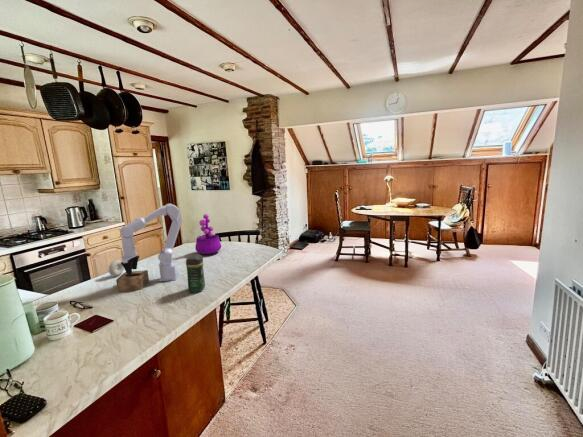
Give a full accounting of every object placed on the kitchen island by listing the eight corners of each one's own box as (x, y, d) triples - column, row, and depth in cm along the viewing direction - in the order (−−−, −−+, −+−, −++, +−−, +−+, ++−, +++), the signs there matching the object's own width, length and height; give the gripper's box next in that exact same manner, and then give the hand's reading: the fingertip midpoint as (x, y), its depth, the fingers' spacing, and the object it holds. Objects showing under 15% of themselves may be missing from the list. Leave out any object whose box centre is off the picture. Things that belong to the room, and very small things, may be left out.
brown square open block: (148, 280, 168) (147, 270, 167) (141, 289, 156) (140, 277, 155) (126, 282, 166) (125, 271, 165) (117, 291, 154) (116, 279, 153)
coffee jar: (202, 292, 149) (199, 258, 146) (186, 293, 149) (183, 259, 145) (206, 285, 159) (204, 252, 155) (192, 286, 158) (189, 253, 155)
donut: (113, 279, 172) (110, 263, 170) (108, 278, 173) (106, 262, 171) (126, 273, 181) (124, 257, 180) (121, 272, 182) (119, 257, 180)
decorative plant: (207, 258, 207) (204, 216, 201) (190, 254, 217) (186, 215, 211) (226, 251, 222) (224, 212, 217) (210, 248, 232) (207, 211, 227)
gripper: (126, 244, 164) (129, 267, 166) (115, 252, 149) (118, 276, 152) (139, 243, 165) (142, 266, 167) (129, 251, 150) (133, 275, 153)
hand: (132, 271), depth 159 cm, fingers open, 7 cm apart
